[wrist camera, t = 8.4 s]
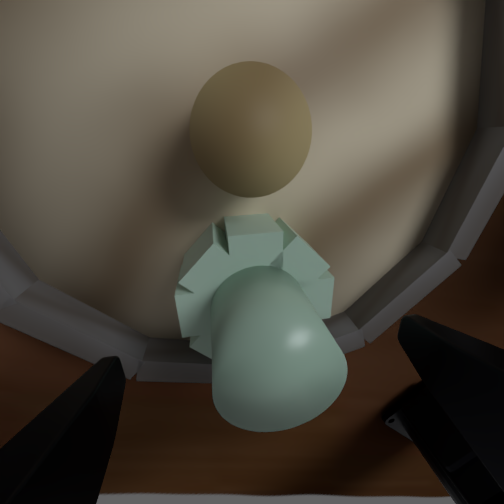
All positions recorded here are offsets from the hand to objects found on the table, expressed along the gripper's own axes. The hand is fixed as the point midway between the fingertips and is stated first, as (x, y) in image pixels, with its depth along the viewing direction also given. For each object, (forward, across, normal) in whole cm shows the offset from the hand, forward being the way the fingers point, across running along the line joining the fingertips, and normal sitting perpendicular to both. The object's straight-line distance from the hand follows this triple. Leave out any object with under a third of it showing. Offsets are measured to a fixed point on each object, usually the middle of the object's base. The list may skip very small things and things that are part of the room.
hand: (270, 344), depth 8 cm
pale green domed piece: (+4, 0, 0) cm, 4 cm away
